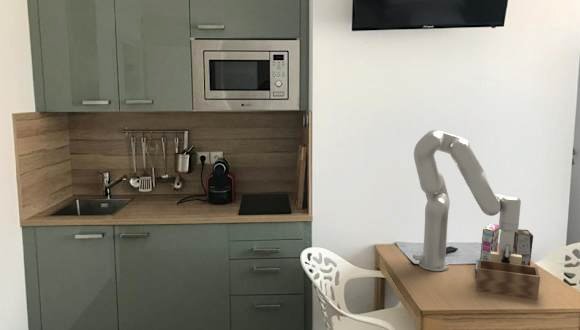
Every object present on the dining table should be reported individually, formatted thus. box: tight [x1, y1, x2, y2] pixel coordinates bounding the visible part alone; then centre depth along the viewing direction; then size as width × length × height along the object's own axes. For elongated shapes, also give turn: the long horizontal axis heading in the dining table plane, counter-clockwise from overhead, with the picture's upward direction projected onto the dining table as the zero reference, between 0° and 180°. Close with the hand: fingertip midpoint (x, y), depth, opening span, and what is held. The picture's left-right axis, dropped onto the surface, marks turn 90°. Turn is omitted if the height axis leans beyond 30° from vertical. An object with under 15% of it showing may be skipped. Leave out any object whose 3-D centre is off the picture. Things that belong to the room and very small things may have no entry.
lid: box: [475, 251, 522, 273], centre depth 212 cm, size 23×12×8 cm, turn 69°
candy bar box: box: [479, 223, 500, 261], centre depth 228 cm, size 11×5×16 cm, turn 144°
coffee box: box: [512, 228, 534, 266], centre depth 222 cm, size 9×6×16 cm
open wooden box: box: [475, 258, 541, 300], centre depth 199 cm, size 22×11×9 cm, turn 69°
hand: (504, 267), depth 212 cm, fingers closed on lid, 2 cm apart
